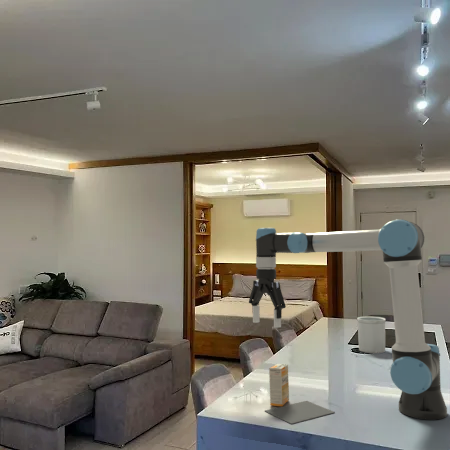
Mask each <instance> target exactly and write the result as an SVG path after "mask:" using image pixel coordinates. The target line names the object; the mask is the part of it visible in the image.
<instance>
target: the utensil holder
mask: <svg viewBox="0 0 450 450" xmlns="http://www.w3.org/2000/svg"><path fill="white" fill-rule="evenodd" d="M356 319H357V332H358V333H357V335H358V336H357V337H358V338H357V339H358V350H359V352H362V353H366V354H367V353H368V354H382V353H385V352H386V318H385V317H381V316H368V315H367V316H359V317H357V318H356Z"/></svg>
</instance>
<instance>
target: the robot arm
mask: <svg viewBox="0 0 450 450" xmlns="http://www.w3.org/2000/svg"><path fill="white" fill-rule="evenodd" d="M255 232H256V234H255V237H256V238H255V242H256V246H255V247H256V249H255V250H256V252H255V253H256V258H255V268H256V270H255V271H256V272H255V274H256V277H255V278H256V280H252V281H253V283H252V289H251V293H250V295H249V300H248V304H251V306H252V323H255V324H257V323H260V322H261V320H260V316H261V315H260V314H261V313H260V302H261V300H262V298H263V295H264V294H266V295H268V296H269V299H270V300H271V303H272V305H273V307H274V308H273V328H274V329H277V328H282V313H283V311H282V310H283V309H285V308H287V307H286V302H285V300H284V297H283V293H282V289H281V283H280V281H276V282H275V280H276V278H277V270H276V267H277V262H276V261H277V259H276V258H277V254H281V253H282V254H283V253H284V254H285V253H286V254H300V253H301V254H308V253H310V254H311V253H329V252H330V253H334V252H338V253H339V252H340V253H341V252H365V251H366V252H368V251H371V252H373V251H374V252H375V251H382V258H383V264H384V265H386V266H387V267H388V271H389V280H390V291H391V301H392V302H391V303H392V311H393V323H394V334H395V335H394V336H395V343H394V344H393V345H392V346H391V355H392V364H391V367H390V372H389V373H390V377H391V381H392V383H393V384H394V385H395V387H397V388H398V390H400V391H401V394H400V397H399V401H398V411H399V412H400V413H402V414H403V415H405V416H408V417H411V418H415V419H421V420H429V421H431V420H433V421H435V420H442V419H445V418H447V416H448V407H447V405H446V402H445V399H444V396H443V393H442V389H441V364H440V363H441V362H440V361H441V360H440V357H441V353H440V347H439V346H438V345H436V344H432V343H426V339H425V328H424V319H423V310H422V309H423V307H422V299H421V289H420V279H419V278H420V277H419V268H418V266H419V264H420V263H422V261H423V256H422V255H423V254H422V248H423V247H424V245H425V233H424V231H423V230H422V228H421V227H420V226H419V225H418V224H417V223H414V222H412V221H408V220H405V219H394V220H391V221H388V222H387V223H385V224H384V225H383V226H381V228H380V229H364V230H362V229H361V230H345V231H329V232H328V231H327V232H306V233H304V232H298V231H297V232H296V231H295V232H277V230H276V228H274V227H259V228H257V229H256V231H255Z"/></svg>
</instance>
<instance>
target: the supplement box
mask: <svg viewBox="0 0 450 450" xmlns="http://www.w3.org/2000/svg"><path fill="white" fill-rule="evenodd" d="M268 369H269V370H268V372H269V373H268V374H269V403H270V406H274V407H282V406H285V405H286V403H288V402H289V401H290V387H289V384H290V381H289V364H288V363H276V364H273V365H272V366H271V367H269V368H268Z"/></svg>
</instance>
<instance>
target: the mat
mask: <svg viewBox="0 0 450 450" xmlns="http://www.w3.org/2000/svg"><path fill="white" fill-rule="evenodd" d="M264 412H266V413H267V414H269V415H271V416H274V417H275V418H278V419H279V420H282V421H283V422H286V423H288V424H289V425H294V424H298V423H302V422H306V421H310V420H313V419H318V418H321V417H324V416H329V415H333V414H335V411H333V410H331V409H328V408H326V407H324V406H321V405H318V404H316V403H314V402H311V401H308V400H304V401H300V402H299V401H298V402H296V403H295V402H294V403H291V404H285V405H283V406H277V407H274V408H269V409H265V410H264Z"/></svg>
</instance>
